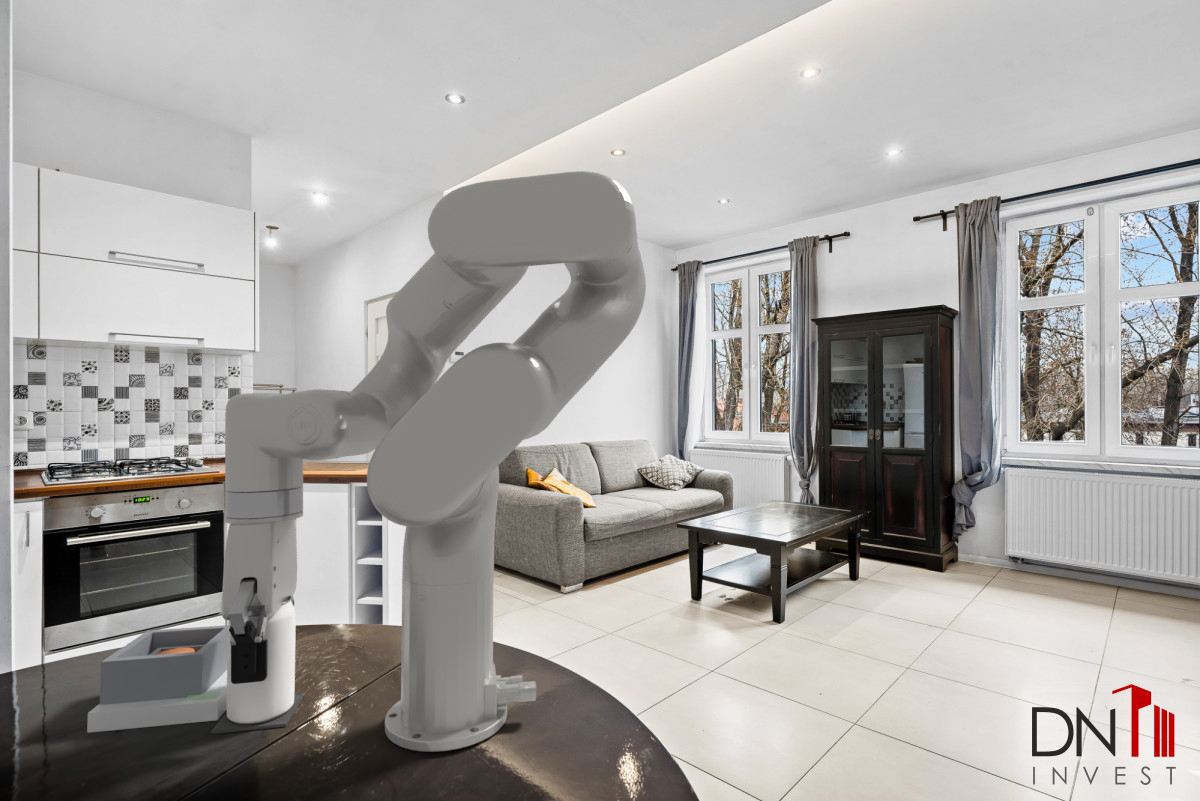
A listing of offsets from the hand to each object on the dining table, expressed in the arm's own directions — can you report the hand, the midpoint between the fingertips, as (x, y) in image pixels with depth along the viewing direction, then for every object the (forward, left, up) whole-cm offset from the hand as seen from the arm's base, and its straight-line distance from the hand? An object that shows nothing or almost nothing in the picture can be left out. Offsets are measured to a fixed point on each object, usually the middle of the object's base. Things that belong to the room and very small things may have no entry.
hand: (265, 662), depth 66 cm
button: (+11, -6, -3) cm, 13 cm away
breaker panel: (+10, -6, -6) cm, 13 cm away
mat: (0, 0, -6) cm, 6 cm away
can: (0, 0, -6) cm, 6 cm away
